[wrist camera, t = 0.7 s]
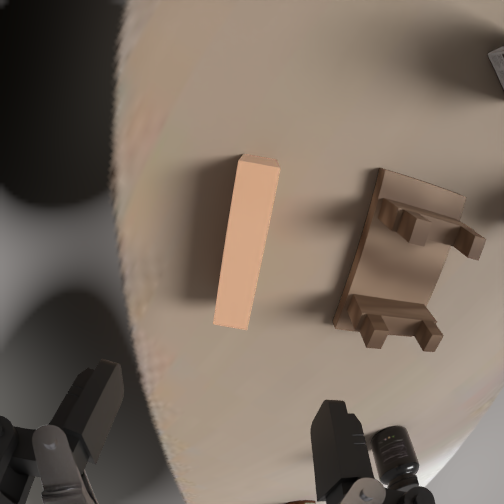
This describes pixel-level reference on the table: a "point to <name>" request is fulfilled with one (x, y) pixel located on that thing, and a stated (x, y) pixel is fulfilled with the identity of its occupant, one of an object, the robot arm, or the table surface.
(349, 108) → the table surface
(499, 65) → the coffee box
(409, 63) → the table surface
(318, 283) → the table surface
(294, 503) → the food container
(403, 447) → the supplement bottle
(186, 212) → the table surface
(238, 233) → the peach rectangular block
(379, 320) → the rack
